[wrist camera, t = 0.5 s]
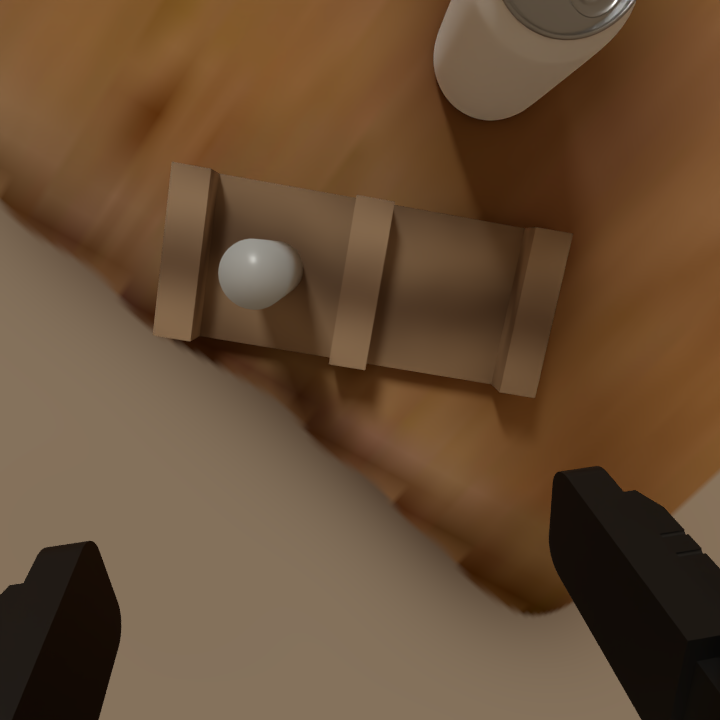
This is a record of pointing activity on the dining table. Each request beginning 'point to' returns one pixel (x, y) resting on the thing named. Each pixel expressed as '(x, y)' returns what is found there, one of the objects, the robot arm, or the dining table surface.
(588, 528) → the robot arm
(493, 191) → the dining table surface
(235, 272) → the grey peg
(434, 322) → the rail
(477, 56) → the can
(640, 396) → the dining table surface
